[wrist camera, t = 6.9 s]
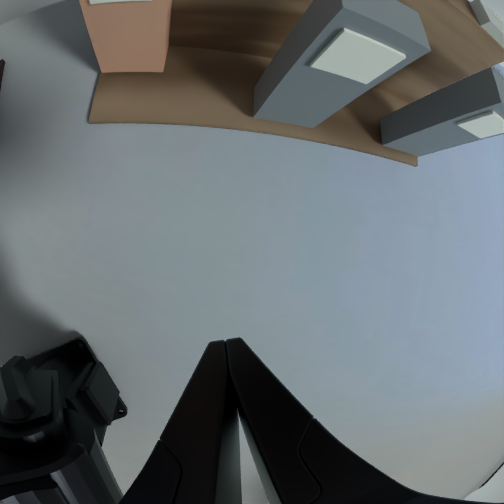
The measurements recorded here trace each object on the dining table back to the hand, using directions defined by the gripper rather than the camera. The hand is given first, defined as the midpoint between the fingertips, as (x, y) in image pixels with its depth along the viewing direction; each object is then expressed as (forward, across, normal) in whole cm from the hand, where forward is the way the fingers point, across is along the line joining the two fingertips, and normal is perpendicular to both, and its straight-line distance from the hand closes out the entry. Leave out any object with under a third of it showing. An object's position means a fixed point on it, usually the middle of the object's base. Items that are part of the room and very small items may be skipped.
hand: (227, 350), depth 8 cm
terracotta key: (+16, +4, -11) cm, 20 cm away
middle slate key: (+16, -6, -6) cm, 18 cm away
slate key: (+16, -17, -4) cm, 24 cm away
